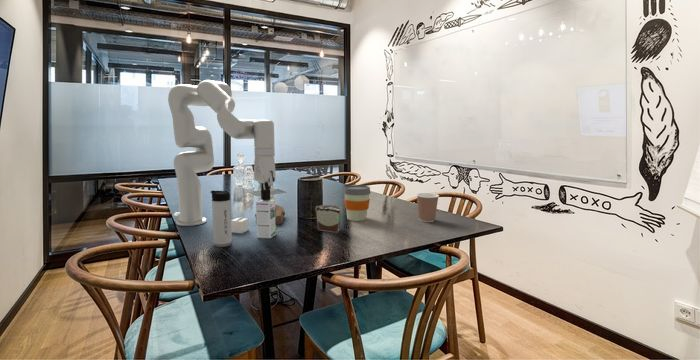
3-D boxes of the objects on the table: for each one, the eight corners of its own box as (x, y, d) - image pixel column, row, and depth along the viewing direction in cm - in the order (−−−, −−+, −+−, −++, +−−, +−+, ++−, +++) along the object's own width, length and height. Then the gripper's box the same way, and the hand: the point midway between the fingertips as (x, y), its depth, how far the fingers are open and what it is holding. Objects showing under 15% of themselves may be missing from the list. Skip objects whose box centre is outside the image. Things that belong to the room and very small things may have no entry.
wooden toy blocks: (255, 232, 166) (259, 217, 183) (285, 228, 167) (286, 213, 184) (252, 217, 164) (256, 202, 181) (282, 212, 165) (284, 198, 182)
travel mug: (215, 242, 142) (213, 189, 139) (233, 241, 143) (231, 189, 140) (210, 247, 136) (208, 192, 133) (229, 247, 136) (227, 192, 133)
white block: (231, 232, 155) (230, 220, 154) (238, 229, 160) (237, 217, 159) (242, 233, 154) (241, 221, 153) (248, 230, 159) (248, 218, 158)
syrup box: (270, 238, 147) (270, 201, 145) (256, 237, 148) (255, 201, 146) (276, 234, 152) (275, 199, 150) (262, 233, 153) (261, 198, 151)
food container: (347, 229, 160) (347, 206, 159) (341, 233, 155) (341, 209, 153) (322, 226, 166) (321, 203, 164) (314, 229, 160) (314, 206, 159)
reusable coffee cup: (370, 221, 173) (371, 189, 171) (343, 221, 173) (343, 189, 171) (369, 215, 186) (369, 185, 184) (343, 215, 186) (344, 184, 184)
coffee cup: (441, 219, 179) (442, 194, 177) (433, 224, 170) (434, 197, 168) (420, 216, 184) (421, 192, 182) (412, 220, 176) (412, 195, 174)
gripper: (247, 151, 149) (248, 197, 151) (264, 154, 137) (265, 203, 140) (265, 151, 153) (266, 195, 156) (282, 153, 142) (283, 201, 144)
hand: (265, 199), depth 148 cm, fingers closed
